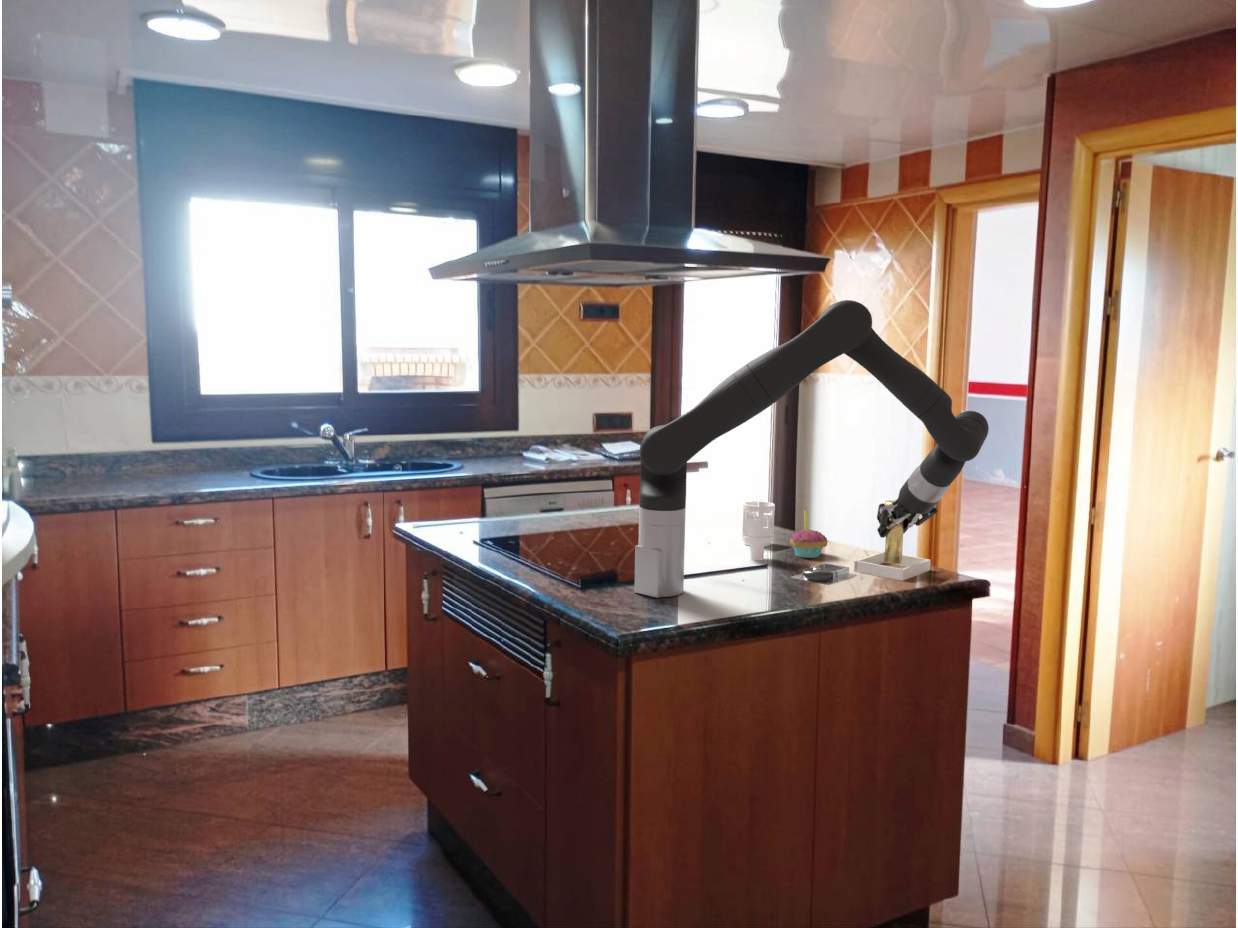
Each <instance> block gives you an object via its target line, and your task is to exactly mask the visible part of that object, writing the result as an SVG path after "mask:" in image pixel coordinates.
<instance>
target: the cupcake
mask: <svg viewBox="0 0 1238 928" xmlns="http://www.w3.org/2000/svg"><path fill="white" fill-rule="evenodd" d="M806 509H807V507H804V511H803V514H804V529H800V530H797V531H794V533H793V534H792V535H790V540H789V544H790V546H791V547H792V549H793V551H794V554H795V556H797V557H800V558H808V559H809V558H811V559H813V558H818V557H820V556H821V552H822V550H823V548H825V547H827V546H828V538H827V537H826V536H825V534H823V533H822V532H820V531H818V530H812V529H809V528H808V527H809V526H808V525H809V524H808V511H807V510H806Z"/></svg>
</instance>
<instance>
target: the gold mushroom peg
mask: <svg viewBox="0 0 1238 928" xmlns="http://www.w3.org/2000/svg"><path fill="white" fill-rule="evenodd" d="M894 501H895V500H886V501H884V504H885V506H888V505H892V503H893V502H894ZM889 520H890V522H891V521H892V520H891V518H890V519H889ZM903 528H904V520H903V521H902V522H901V523H899V524H895V525H894V526H893V527H892V528H891V530H890V531H889V532H888V533H887V535H886V536H885V544H884V552H885V562H887V563H886V564H889V563H894V564H893V565H895V564H898V563H902V555H903V543H904V534H903Z"/></svg>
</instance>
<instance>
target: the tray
mask: <svg viewBox="0 0 1238 928" xmlns="http://www.w3.org/2000/svg"><path fill="white" fill-rule="evenodd" d="M931 562H932V561H931V559H928V558H924V557H923V558H922V557H916V556H913V555H912V556H910V555H905V554H902V563H898V564H894V563H887V562H885V551H881V552H878V553H874V554H871V555H869V556H866V557H861V558H859V559H856V560H854V563H853V564H854V565H853V572H855V573H861V574H865V575H871V576H875V577H879V578H880V577H881V578H886V579H891V580H896V581H901V582H903V581H906V580H909V579H910V578H913V577H916V576H918V575H921V574H924V573H927V572H930V570H931ZM883 564H889V565H895V566H901V567H902V568H901V567H900V568H899V567H894V566H889V565H883Z"/></svg>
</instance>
